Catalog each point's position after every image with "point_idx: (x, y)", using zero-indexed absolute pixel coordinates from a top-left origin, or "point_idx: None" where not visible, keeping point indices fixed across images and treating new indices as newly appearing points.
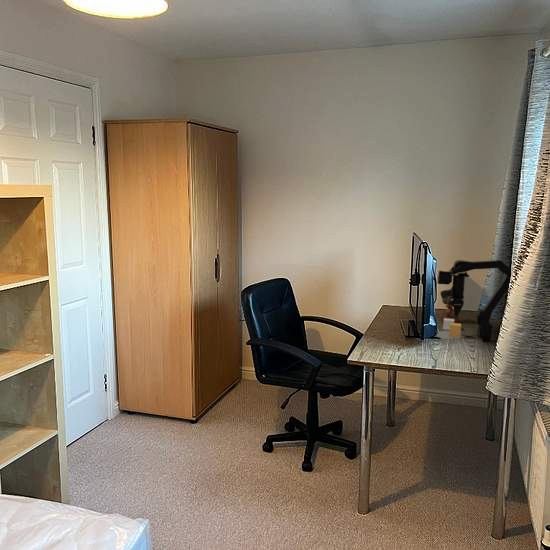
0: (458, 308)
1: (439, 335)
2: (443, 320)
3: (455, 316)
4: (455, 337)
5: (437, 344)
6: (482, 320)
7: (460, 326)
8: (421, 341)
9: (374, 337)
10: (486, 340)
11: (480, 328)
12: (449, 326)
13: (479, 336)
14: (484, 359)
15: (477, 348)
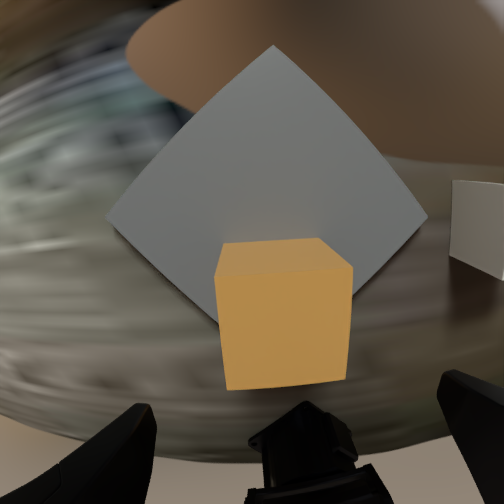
0: None
1: (218, 159)
2: None
3: (133, 415)
4: (214, 296)
5: (27, 183)
6: None
7: (226, 382)
8: (55, 70)
9: None
10: (262, 453)
11: (287, 480)
12: (475, 232)
13: (283, 437)
14: None
15: (84, 404)
